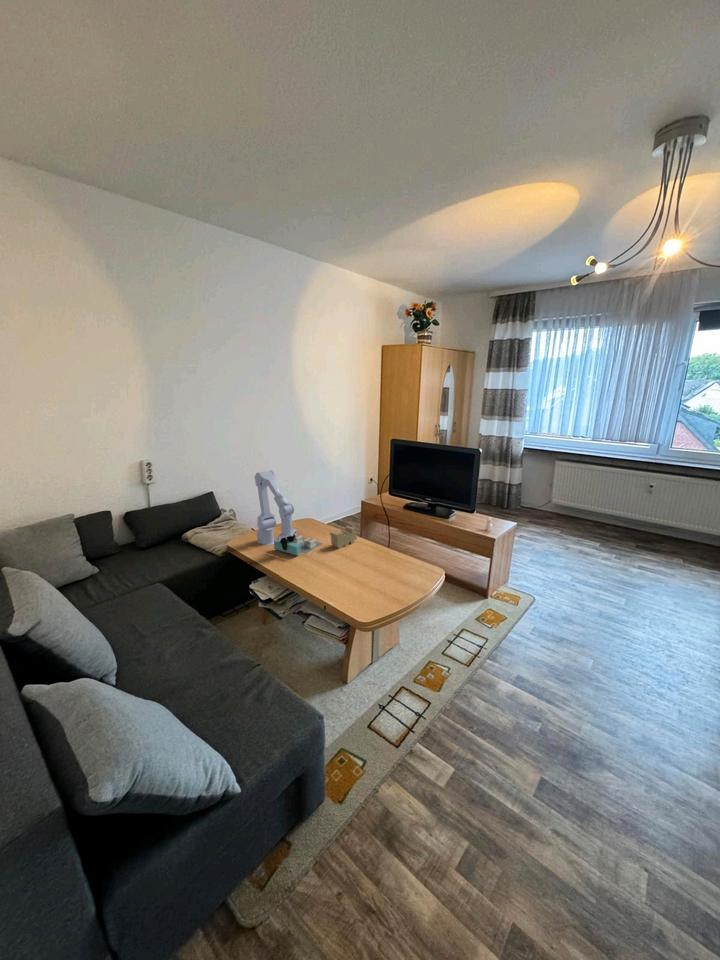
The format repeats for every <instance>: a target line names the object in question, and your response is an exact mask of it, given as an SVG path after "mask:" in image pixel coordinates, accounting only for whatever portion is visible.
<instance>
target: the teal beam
mask: <svg viewBox="0 0 720 960" xmlns="http://www.w3.org/2000/svg"><path fill="white" fill-rule="evenodd" d="M273 547H274V548H273V549H274V550H277V551H281V552H284V553H287V554H291V555H294V556H298V555H300V554H301V553H302V552H301V545H300V544H297V543H293V542H289V541H288V542H287V550H283V547H282V544H281V542H280V541H277V538H276V539H274V543H273Z"/></svg>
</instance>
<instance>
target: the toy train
mask: <svg viewBox="0 0 720 960" xmlns="http://www.w3.org/2000/svg"><path fill="white" fill-rule="evenodd" d="M329 535H330V537H331V538H330V539H331V540H330V542H331V545H332V547H334V548H336V549H342V548H344V547H347V546H349V544H354V543H355V541H356V540H357V538H358V537H357V535H356V531H355V527H352V526H349V525H347V526H345V528H344V530H343V529H340V530H338V529H336V530H333V531H330V532H329Z"/></svg>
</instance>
